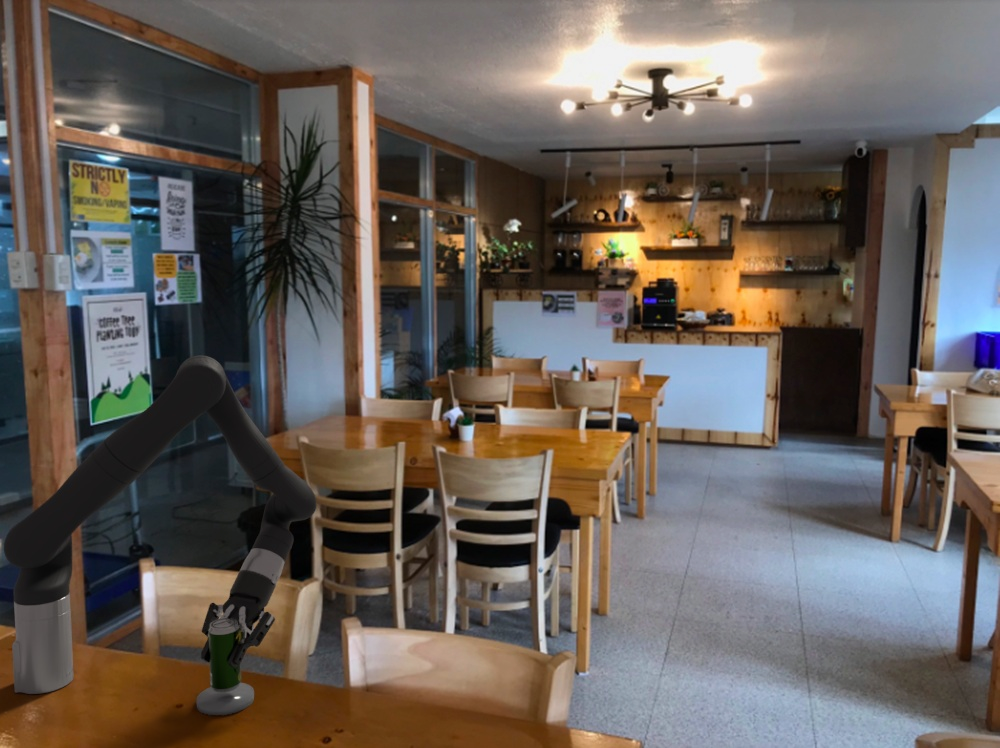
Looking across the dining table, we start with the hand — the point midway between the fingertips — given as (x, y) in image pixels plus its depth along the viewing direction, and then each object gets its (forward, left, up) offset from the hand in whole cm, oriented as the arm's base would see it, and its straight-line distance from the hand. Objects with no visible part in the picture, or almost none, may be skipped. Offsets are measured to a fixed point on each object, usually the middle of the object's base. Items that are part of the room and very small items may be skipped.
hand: (218, 663), depth 142 cm
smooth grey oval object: (+1, +1, -8) cm, 8 cm away
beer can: (+1, +2, -5) cm, 6 cm away
